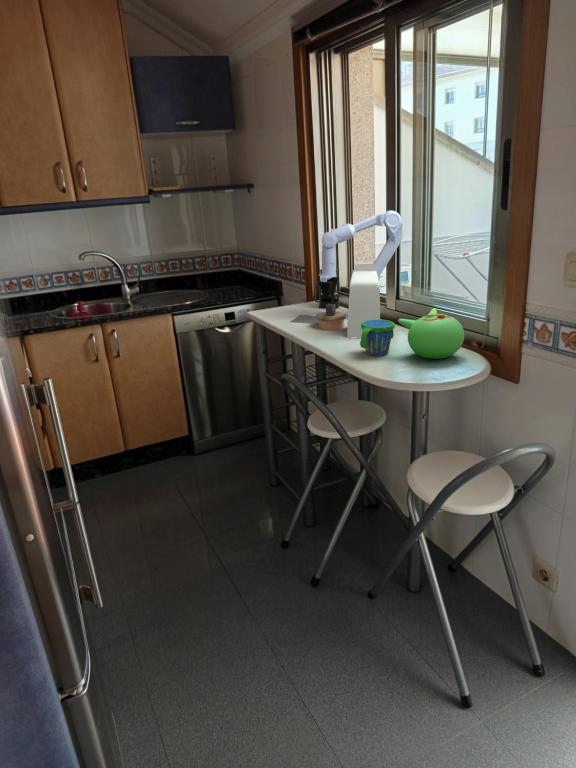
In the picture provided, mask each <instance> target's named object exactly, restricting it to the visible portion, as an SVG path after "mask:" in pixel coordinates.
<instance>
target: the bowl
mask: <svg viewBox="0 0 576 768" xmlns="http://www.w3.org/2000/svg"><path fill="white" fill-rule="evenodd" d="M344 327H345V319H344V320H340V321H321V320H319V324H318V328H319V329H321V330H327V331H328V330H329V331H333V330H334V331H335V330H336V331H337V330H340V329H343V328H344Z"/></svg>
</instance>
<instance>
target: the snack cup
mask: <svg viewBox="0 0 576 768" xmlns="http://www.w3.org/2000/svg"><path fill="white" fill-rule="evenodd" d="M395 326H396V325H395V322H393V321H391V320H387V319H381V318H380V319H374V320H366V321H364V322H362V323H361V327H362V329H363V332H362V336H361V338H360V341H359V345H360V347H361V348H362V349H365V350H364V351H365V353H366V354H368V355H370V356H375V355H377V356H378V357H379V355H380V356H385V355H387V354H388V353H389V351H390V345H391V341H392V339H393V338H394V335H395V334H394V333H395V332H394V329H395ZM377 356H376V357H377Z"/></svg>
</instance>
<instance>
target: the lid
mask: <svg viewBox="0 0 576 768" xmlns="http://www.w3.org/2000/svg"><path fill="white" fill-rule="evenodd" d="M336 310H337V309H336V304H327V305H326V309H325V311H324V312H323V311H322V312H318V313H315V315H314V316H315V318H316V319H317V320H321V321H340V320H344V321H345V320H346V319H347V314H346V313H344V312H340V311H336Z"/></svg>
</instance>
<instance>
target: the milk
mask: <svg viewBox="0 0 576 768" xmlns="http://www.w3.org/2000/svg"><path fill="white" fill-rule="evenodd" d="M380 291H381V288H380V281H379V278H378V276H377V271H376V268H375V266H374V262H357V263H356V264H355V266H354V269H353V271H352V273H351V277H350V281H349V294H348V295H349V299H348V311H347V312H348V313H347V314H348V315H347V332H346V333H347V334H346V335H347V336H346V338H347V337H361V336H362V332H363V329H362V327H361V323H362V322H364V321H366V320H374V319H380V320H381V298H380V297H381V293H380Z"/></svg>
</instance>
